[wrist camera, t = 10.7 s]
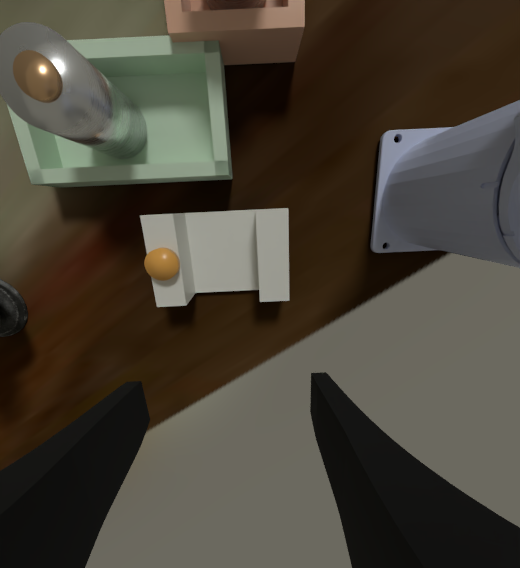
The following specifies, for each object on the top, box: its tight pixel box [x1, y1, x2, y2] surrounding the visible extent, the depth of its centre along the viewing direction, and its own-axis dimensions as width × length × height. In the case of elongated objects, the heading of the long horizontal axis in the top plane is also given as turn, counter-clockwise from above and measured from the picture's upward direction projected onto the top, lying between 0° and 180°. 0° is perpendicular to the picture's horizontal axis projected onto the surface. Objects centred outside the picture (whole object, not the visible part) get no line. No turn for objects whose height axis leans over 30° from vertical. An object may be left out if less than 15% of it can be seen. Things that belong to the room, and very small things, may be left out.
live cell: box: [0, 22, 147, 159], centre depth 12 cm, size 4×4×6 cm
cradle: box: [140, 208, 289, 307], centre depth 17 cm, size 9×6×4 cm, turn 93°
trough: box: [7, 36, 232, 187], centre depth 15 cm, size 12×7×2 cm, turn 93°
